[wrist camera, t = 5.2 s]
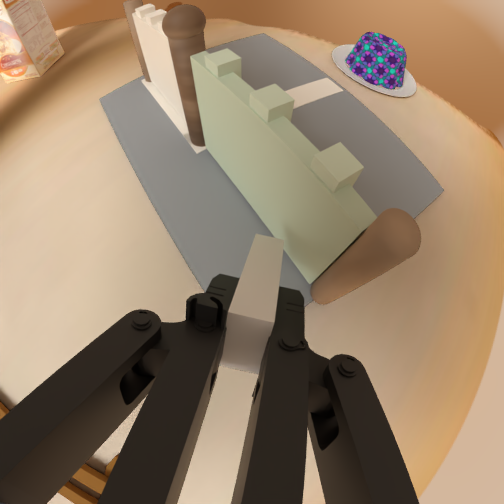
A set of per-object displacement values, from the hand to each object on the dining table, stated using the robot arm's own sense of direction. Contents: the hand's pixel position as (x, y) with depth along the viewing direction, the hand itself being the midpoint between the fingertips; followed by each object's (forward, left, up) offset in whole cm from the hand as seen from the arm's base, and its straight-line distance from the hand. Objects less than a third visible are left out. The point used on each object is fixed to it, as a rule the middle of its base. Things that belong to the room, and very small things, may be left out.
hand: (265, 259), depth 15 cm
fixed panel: (-20, +3, -5) cm, 21 cm away
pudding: (-14, +28, -5) cm, 31 cm away
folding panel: (-4, +3, -4) cm, 6 cm away
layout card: (-12, +8, -5) cm, 15 cm away
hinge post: (-13, +3, -5) cm, 14 cm away
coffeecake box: (-55, -13, -5) cm, 56 cm away
